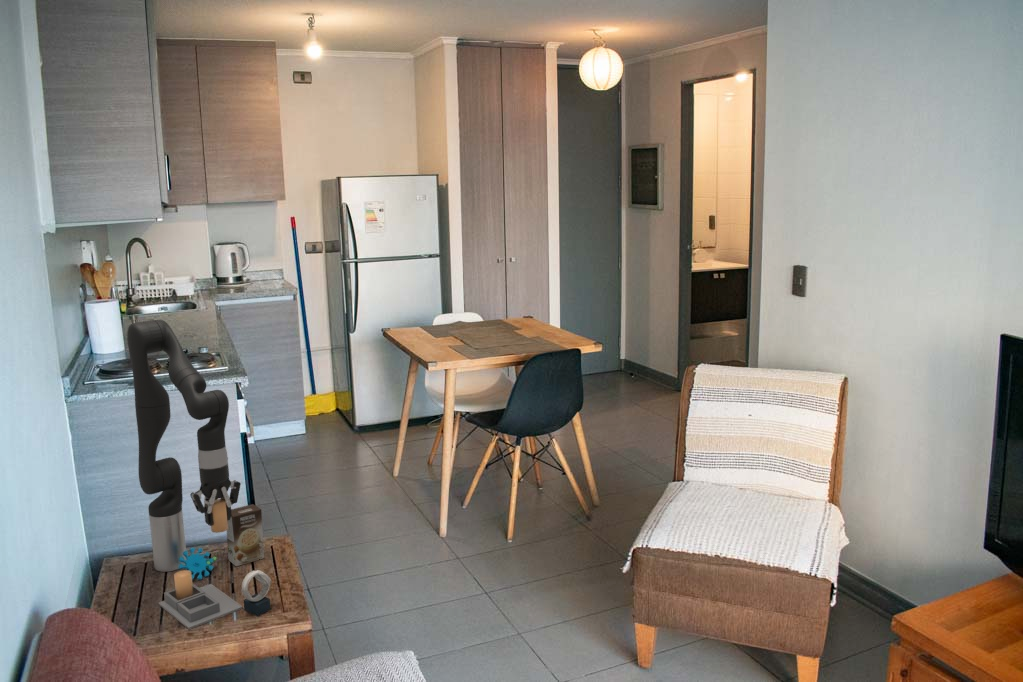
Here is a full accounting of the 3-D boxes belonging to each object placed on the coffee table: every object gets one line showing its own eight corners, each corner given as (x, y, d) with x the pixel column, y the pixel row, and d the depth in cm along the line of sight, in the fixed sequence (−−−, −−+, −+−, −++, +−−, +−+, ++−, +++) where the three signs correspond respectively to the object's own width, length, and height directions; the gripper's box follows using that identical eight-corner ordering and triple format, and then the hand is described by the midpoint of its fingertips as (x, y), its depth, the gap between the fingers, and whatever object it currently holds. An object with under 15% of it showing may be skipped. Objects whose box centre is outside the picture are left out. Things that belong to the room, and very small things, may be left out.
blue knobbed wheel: (183, 581, 240) (176, 549, 244) (177, 589, 243) (170, 558, 248) (221, 573, 247) (213, 543, 252) (215, 582, 251) (207, 552, 255)
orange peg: (208, 529, 231) (205, 502, 230) (223, 524, 235) (220, 497, 233) (216, 533, 228) (213, 506, 227) (231, 529, 231) (228, 501, 230)
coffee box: (236, 567, 251) (232, 516, 248) (228, 560, 256) (223, 510, 253) (265, 558, 257) (261, 509, 254) (256, 551, 262) (253, 503, 259)
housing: (158, 604, 230) (155, 575, 228) (211, 585, 240) (208, 557, 238) (188, 629, 217) (186, 599, 215) (242, 608, 227) (240, 579, 225)
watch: (276, 606, 228) (273, 568, 226) (252, 619, 221) (249, 580, 219) (262, 600, 231) (259, 563, 229) (238, 613, 224) (235, 575, 222)
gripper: (231, 454, 235) (236, 511, 239) (181, 466, 225) (187, 526, 229) (244, 459, 230) (249, 518, 233) (194, 473, 220) (200, 534, 223)
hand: (218, 522), depth 231 cm, fingers closed on orange peg, 4 cm apart
